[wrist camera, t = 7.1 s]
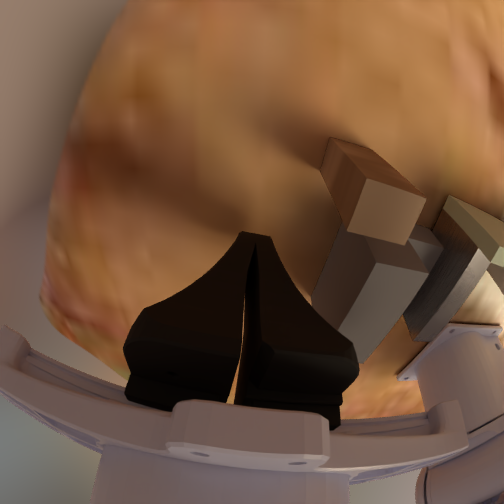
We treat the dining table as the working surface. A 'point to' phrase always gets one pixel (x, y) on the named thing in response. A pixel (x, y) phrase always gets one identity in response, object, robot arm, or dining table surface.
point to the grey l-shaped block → (455, 266)
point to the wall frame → (375, 196)
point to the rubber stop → (372, 284)
